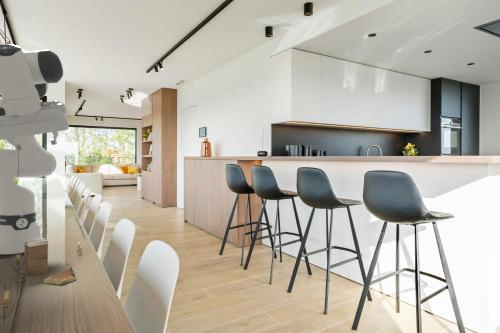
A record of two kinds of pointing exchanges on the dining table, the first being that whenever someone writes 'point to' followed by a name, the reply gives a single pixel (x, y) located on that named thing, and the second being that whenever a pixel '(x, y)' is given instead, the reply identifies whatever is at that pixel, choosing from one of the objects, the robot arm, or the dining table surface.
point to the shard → (61, 277)
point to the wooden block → (35, 256)
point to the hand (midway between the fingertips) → (37, 146)
